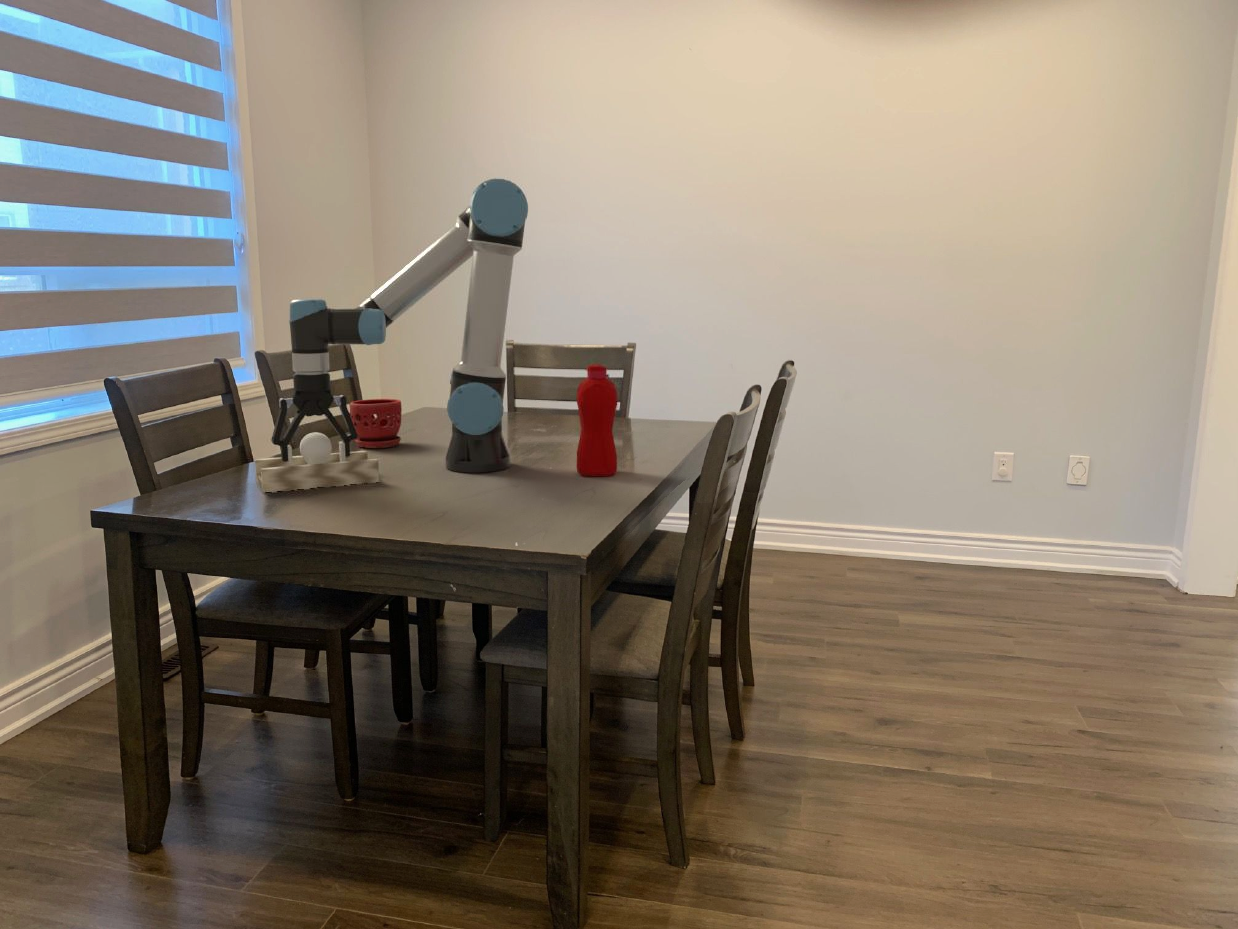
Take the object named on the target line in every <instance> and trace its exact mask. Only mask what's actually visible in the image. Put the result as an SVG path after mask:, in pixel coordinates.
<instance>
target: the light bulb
mask: <svg viewBox="0 0 1238 929" xmlns="http://www.w3.org/2000/svg"><path fill="white" fill-rule="evenodd" d="M332 450H333V448H332V442H331V440H330V438H329V437H328V436H327V435H325V434H324V433H323V432H322V433H321V432H309V433H307V434H306V435H304V436H303V438H302V439H301V441H300V443H299V452H300V456H303V458H304V459H305V461H306V462H307V464H320V463H326V461H327V459H328V457H329V456H330V454H331V453H332Z"/></svg>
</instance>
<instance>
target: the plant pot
mask: <svg viewBox="0 0 1238 929" xmlns="http://www.w3.org/2000/svg"><path fill="white" fill-rule="evenodd" d="M402 410H403V409H402V401H401V400H400V399H395V398H377V399H375V398H373V399H372V398H371V399H361V400H360V399H359V400H356V401H351V402H349V414H350V417H351V419H352V422H353V424H354V427H355V430H356V432H357V435H358V438H357V439H354V441H355V443H356V444H357V446H359V447H361V448H362V447H365V448H366V449H385V448H393V447H394V446H396V445H399V443H400V441H402V439H401V438H402V437H401V436H398V434H399V432H400V429H401V425H402ZM375 415H376V417H375Z"/></svg>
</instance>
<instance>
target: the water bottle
mask: <svg viewBox="0 0 1238 929" xmlns="http://www.w3.org/2000/svg"><path fill="white" fill-rule="evenodd" d="M585 371H587V374H586V375H587V378H585V379H584V380H582V381H581V382H580V384H579V386H578V387H577V390H576V391H577V392H576V404H577V409H578V416H579V421H580V428H581V429H580V434H579V440H578V444H577V445H578V446H577V450H576V472H577V473H578V474H579V475H580V476H583V477H611V476H614V475H615V474H616V473H617V471H618V455H617V449H616V442H615V438H614V432H613V428H614V422H615V416H616V412H617V407H618V392H619V394H620V398H621V400H622V406H623V408H625V406H624V405H625V404H624V401H623V396H622V394H621V391H620V390H618V391H617V389H618V387H617V386H616V384H615V383H614V382H613V381H612V380H611V379H610V374H607V373H608V372H607V366H604V365H601V364H597V363H596V364H590V365H587V368H586V369H585ZM623 411H624V412H623V413H624V414H623V420H622V421H620V420H619V419H618V417H616V419H617V421H618V422H619V423H622V422H624V420H625V415H626V414H625V410H623Z"/></svg>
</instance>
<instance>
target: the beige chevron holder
mask: <svg viewBox="0 0 1238 929" xmlns="http://www.w3.org/2000/svg"><path fill="white" fill-rule="evenodd" d="M345 459H346V461H344V462H340V457H339V452H331V454H330V456H329V457H328V459H327V461H326V463H320V464H307V462H306V461H305V459H304V458H303V456H302V455H296V456H295V455H292V462H293V466H287V462H283V460H282V457H281V456H279V457H269V458H267V457H266V458H256V459H254V471H255V482H256V481H257V482H256V484H257V483H258V484H259V486H260V487H259V486H258V487H259V489H260V488H261V489H260V490H261V492H262V491H263V492H264V493H263V492H262V493H263V494H266V493H265V492H272V493H278V492H277V491H283V492H292V491H291V490H294V491H298V490H297V489H304V490H311V489H310V488H315V489H318V488H317V487H325V488H332V487H331V486H336V487H344V485H347V486H351V485H350V484H357V485H365V484H364V483H368V484H375V483H376V482H379V483H380V468H379V465H380V464H379V459H378V458H372V459H371V458H369V459H368V451H367V450H357V451H350V456H349V457H345ZM362 483H363V484H362ZM258 484H257V485H258Z"/></svg>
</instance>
